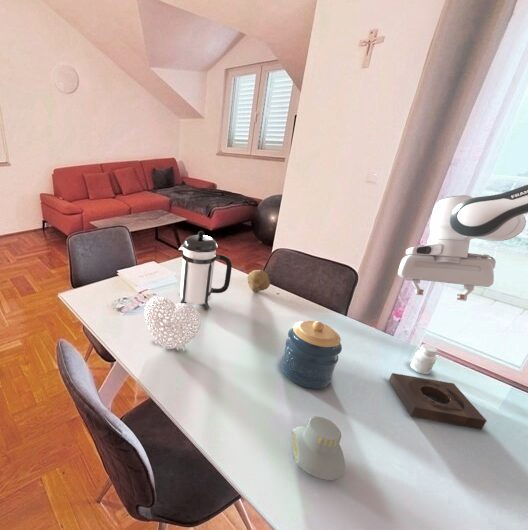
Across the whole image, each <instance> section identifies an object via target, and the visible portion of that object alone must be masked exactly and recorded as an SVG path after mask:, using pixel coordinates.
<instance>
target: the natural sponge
mask: <svg viewBox="0 0 528 530" xmlns="http://www.w3.org/2000/svg"><path fill="white" fill-rule="evenodd" d="M247 284H248V287H249V288H250V290H251V292H252V293H253V292H254V293H259V292H261V291H265V290H267V289H269V287H270V286H271V280H270V277H269V275H268V274H267V273H266V271H264V270H262V269H254V270H252V271H250V272H249V273H248V274H247Z"/></svg>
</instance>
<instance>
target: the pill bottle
mask: <svg viewBox="0 0 528 530" xmlns="http://www.w3.org/2000/svg"><path fill="white" fill-rule="evenodd" d="M438 353H439V350H438V349H437V347H435V346H433V345H431V344H422V345H421V346H420V348H419V349H417V350H416V352H415V353H414V356H413V358H412V360H411V361H410V362H411V363H410V368H411V369H412V370H413V371H415V372H416V373H419V374H422V375H429V374H430V373H431V371H432V369H433V367H434V365H435V363H436V361H437V354H438Z"/></svg>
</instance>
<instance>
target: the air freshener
mask: <svg viewBox="0 0 528 530" xmlns="http://www.w3.org/2000/svg"><path fill="white" fill-rule="evenodd" d="M341 439H342V433H341V430H340V428H339V427H338V426H337V424H335V423H334V422H333V421H331V420H329V419H328V418H325V417H324V416H323V417H322V416H312V417H310V418H309V419H308V421H307V424H306V425H300V426H296V427H295V428H293V429H292V430H291V432H290V444H291V453H292V455H293V459H294V462H295V463H296V465H297V466H298V467H299V468H300V469H301V470H303V471H304V472H306V473H307V474H309V475H310V476H312V477H315V478H317V479H321V480H324V481H333V480H338V479H339V478H341V477H343V476H344V475H345V473H346V463H345V457H344V453H343V449H342V447H341V445H340V442H341Z"/></svg>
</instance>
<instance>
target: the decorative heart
mask: <svg viewBox="0 0 528 530" xmlns="http://www.w3.org/2000/svg"><path fill="white" fill-rule="evenodd" d="M143 311H144V312H143V315H144V320H145V325H146V327H147V328H148V330H149V332H150V333H151V335H152V337H153V338H154V344H155V345H156V344H157V343H158V344H160V346H162V347H163V348H164V349H166V350H172V349H176V351H179V350H180V347H182V352H185V351H186V344H188V343H190V342H191V341H192V340H193V339H194V338H195V337H196V336H197V335H198V333H199V330H200V328H201V316H200V314H199V312H198V310H197V309H196V308H195V307H194V306H192V304H189V303H186V304H184V303H180V302H179V303H178V302H176V303H175V302H173V301H172V300H170V299H168V298H167V297H163V296H153V297H152V298H150V299H149V300H148V301H147V302H146V303H145V306H144V310H143Z"/></svg>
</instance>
